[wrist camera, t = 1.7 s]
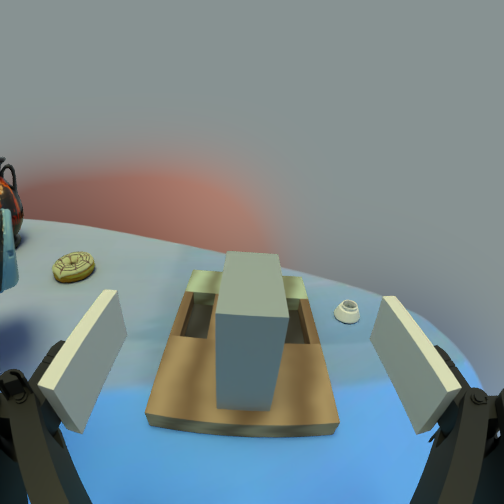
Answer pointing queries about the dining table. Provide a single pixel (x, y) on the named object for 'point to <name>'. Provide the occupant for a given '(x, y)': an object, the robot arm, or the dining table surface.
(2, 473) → the robot arm
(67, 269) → the decorated donut
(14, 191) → the amphora vase
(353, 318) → the white jar
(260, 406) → the grey block
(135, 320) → the dining table surface
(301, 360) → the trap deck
